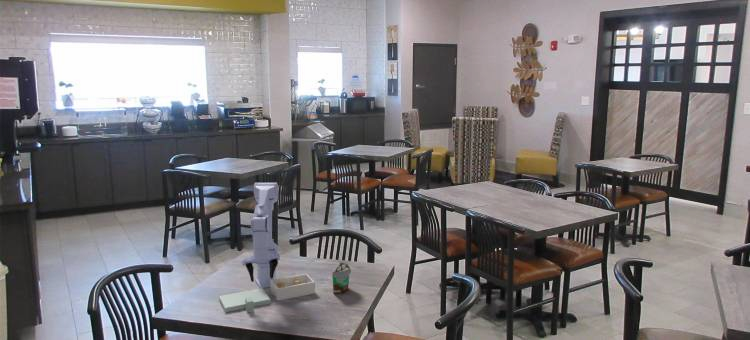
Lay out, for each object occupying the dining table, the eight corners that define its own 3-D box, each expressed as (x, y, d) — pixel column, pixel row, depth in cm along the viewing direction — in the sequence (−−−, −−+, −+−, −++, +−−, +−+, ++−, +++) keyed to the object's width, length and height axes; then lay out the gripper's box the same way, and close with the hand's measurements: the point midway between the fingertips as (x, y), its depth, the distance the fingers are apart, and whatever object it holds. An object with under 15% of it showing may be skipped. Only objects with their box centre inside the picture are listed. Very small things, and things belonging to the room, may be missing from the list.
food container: (346, 296, 218) (346, 273, 216) (332, 295, 220) (332, 272, 218) (354, 284, 230) (354, 262, 228) (340, 283, 231) (340, 261, 229)
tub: (270, 291, 223) (270, 280, 222) (306, 284, 230) (306, 273, 229) (277, 300, 214) (277, 289, 213) (314, 293, 221) (314, 282, 220)
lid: (219, 300, 214) (218, 290, 213) (262, 292, 222) (262, 282, 221) (227, 316, 201) (226, 306, 200) (273, 307, 208) (272, 297, 208)
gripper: (244, 252, 201) (245, 286, 204) (281, 247, 208) (282, 279, 210) (240, 246, 207) (241, 279, 210) (276, 241, 214) (277, 273, 217)
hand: (261, 279), depth 211 cm, fingers open, 7 cm apart
